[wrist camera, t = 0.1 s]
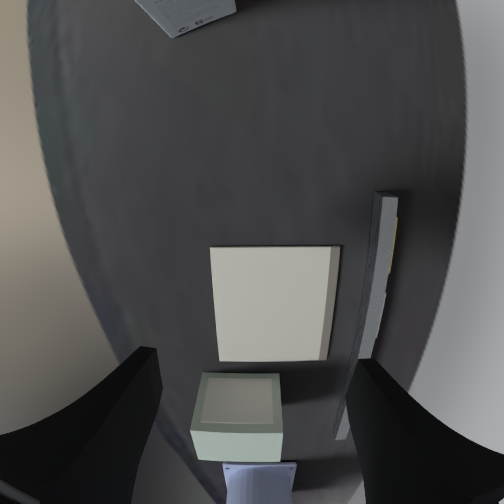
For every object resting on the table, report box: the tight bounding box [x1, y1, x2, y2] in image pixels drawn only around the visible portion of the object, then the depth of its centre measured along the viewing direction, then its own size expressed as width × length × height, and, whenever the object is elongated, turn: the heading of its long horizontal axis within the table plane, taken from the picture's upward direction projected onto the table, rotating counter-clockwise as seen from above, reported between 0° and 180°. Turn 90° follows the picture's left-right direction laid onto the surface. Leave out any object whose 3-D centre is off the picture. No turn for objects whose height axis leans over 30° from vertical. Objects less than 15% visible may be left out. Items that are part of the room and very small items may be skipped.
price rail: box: [333, 192, 398, 440], centre depth 21 cm, size 22×1×2 cm, turn 1°
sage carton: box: [190, 372, 283, 462], centre depth 21 cm, size 4×6×6 cm
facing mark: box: [210, 246, 340, 362], centre depth 21 cm, size 9×8×1 cm
